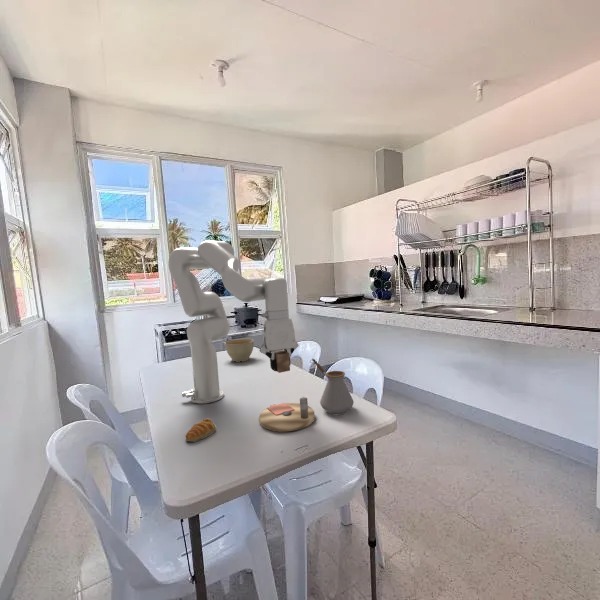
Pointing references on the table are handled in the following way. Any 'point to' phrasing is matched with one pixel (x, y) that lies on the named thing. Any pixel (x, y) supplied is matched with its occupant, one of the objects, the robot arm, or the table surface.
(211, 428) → the pastry
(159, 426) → the table surface
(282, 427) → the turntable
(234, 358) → the planter bowl
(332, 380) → the coffee pot
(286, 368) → the cardboard box
